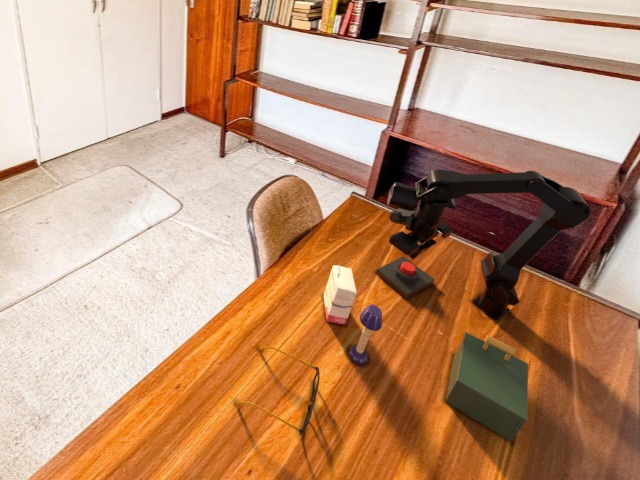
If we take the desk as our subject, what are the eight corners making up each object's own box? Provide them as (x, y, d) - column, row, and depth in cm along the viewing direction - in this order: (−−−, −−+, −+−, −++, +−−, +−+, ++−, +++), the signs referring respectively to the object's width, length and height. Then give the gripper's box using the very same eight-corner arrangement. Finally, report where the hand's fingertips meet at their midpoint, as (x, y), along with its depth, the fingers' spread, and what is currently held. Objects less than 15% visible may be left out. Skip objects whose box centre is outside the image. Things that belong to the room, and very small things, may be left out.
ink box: (347, 326, 101) (357, 293, 96) (326, 322, 102) (336, 289, 97) (342, 298, 109) (351, 266, 104) (323, 294, 110) (331, 263, 104)
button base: (402, 260, 122) (405, 251, 121) (432, 283, 114) (436, 275, 113) (375, 273, 117) (378, 264, 116) (406, 298, 109) (409, 289, 108)
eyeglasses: (304, 444, 77) (307, 433, 75) (235, 404, 83) (237, 393, 82) (319, 380, 88) (323, 369, 87) (258, 348, 95) (260, 337, 93)
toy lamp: (371, 366, 92) (390, 318, 84) (352, 367, 91) (369, 319, 84) (362, 347, 96) (379, 299, 89) (343, 348, 96) (359, 300, 88)
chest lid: (464, 334, 93) (471, 321, 91) (526, 365, 86) (535, 352, 84) (455, 382, 82) (463, 369, 80) (525, 422, 76) (535, 409, 74)
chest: (454, 355, 95) (464, 336, 92) (513, 387, 88) (526, 368, 86) (445, 401, 85) (455, 382, 82) (511, 442, 79) (525, 422, 76)
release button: (405, 264, 117) (407, 260, 116) (416, 273, 114) (418, 268, 113) (397, 268, 115) (399, 263, 114) (408, 277, 112) (410, 272, 112)
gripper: (422, 189, 116) (407, 231, 123) (379, 206, 108) (366, 249, 115) (460, 211, 107) (442, 255, 114) (416, 231, 99) (400, 276, 106)
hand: (412, 258), depth 112 cm, fingers closed
